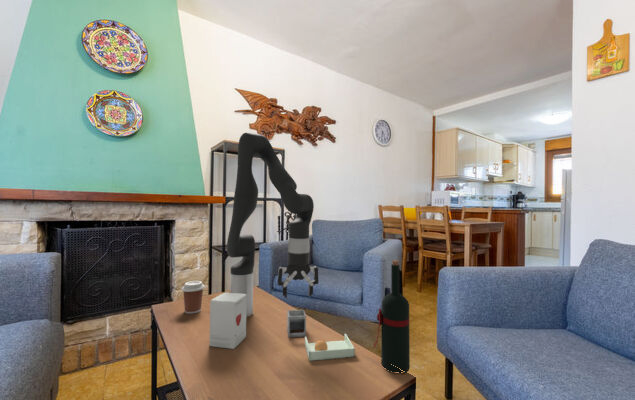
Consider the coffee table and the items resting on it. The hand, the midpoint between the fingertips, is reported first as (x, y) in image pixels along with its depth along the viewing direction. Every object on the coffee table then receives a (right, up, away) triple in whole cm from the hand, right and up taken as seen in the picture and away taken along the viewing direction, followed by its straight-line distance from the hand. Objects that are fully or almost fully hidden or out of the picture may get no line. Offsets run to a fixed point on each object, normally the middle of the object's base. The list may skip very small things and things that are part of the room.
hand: (297, 296), depth 99 cm
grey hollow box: (-1, -14, +2) cm, 14 cm away
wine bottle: (+28, -14, -18) cm, 36 cm away
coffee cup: (-47, -14, +23) cm, 54 cm away
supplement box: (-23, -14, -5) cm, 27 cm away
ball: (+8, -11, -13) cm, 19 cm away
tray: (+11, -14, -10) cm, 20 cm away
